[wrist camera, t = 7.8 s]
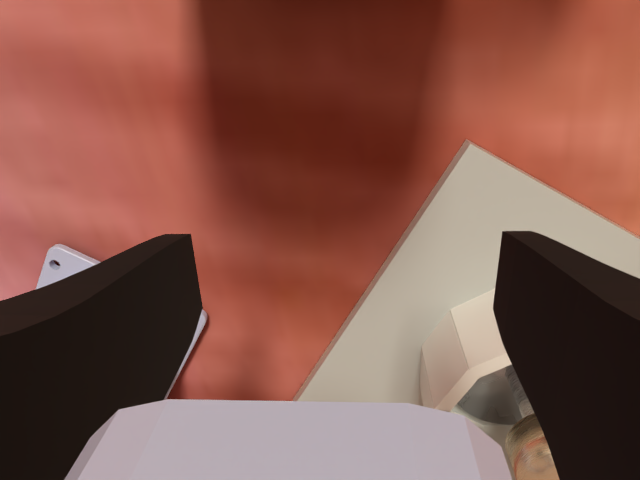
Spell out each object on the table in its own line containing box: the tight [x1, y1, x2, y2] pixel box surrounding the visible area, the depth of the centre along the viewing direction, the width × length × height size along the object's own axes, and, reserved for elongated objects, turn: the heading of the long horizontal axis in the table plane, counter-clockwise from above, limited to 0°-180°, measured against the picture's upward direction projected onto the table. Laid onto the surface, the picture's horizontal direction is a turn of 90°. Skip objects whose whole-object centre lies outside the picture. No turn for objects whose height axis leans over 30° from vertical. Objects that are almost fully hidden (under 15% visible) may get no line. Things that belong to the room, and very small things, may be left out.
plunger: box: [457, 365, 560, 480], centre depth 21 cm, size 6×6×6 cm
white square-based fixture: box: [293, 139, 640, 480], centre depth 23 cm, size 16×16×5 cm
